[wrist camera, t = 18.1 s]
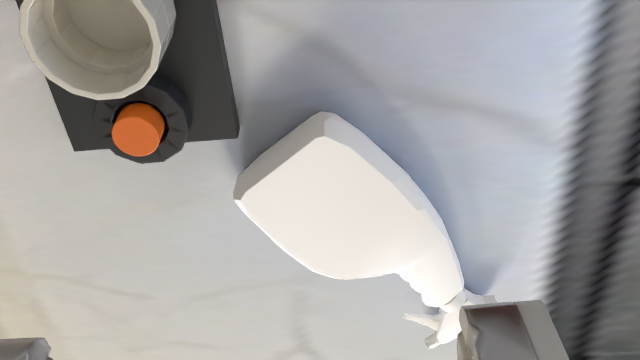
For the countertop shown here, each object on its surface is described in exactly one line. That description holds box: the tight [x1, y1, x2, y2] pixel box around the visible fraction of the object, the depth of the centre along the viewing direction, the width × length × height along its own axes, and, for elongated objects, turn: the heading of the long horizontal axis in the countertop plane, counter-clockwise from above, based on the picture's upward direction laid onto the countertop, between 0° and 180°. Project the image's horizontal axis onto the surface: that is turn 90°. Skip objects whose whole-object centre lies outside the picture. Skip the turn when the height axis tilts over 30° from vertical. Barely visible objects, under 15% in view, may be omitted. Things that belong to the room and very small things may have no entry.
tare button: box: [112, 103, 165, 156], centre depth 36 cm, size 3×3×2 cm
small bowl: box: [19, 0, 176, 100], centre depth 32 cm, size 7×7×5 cm
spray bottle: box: [233, 111, 497, 349], centre depth 45 cm, size 3×11×24 cm
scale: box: [16, 0, 240, 164], centre depth 35 cm, size 14×11×3 cm
